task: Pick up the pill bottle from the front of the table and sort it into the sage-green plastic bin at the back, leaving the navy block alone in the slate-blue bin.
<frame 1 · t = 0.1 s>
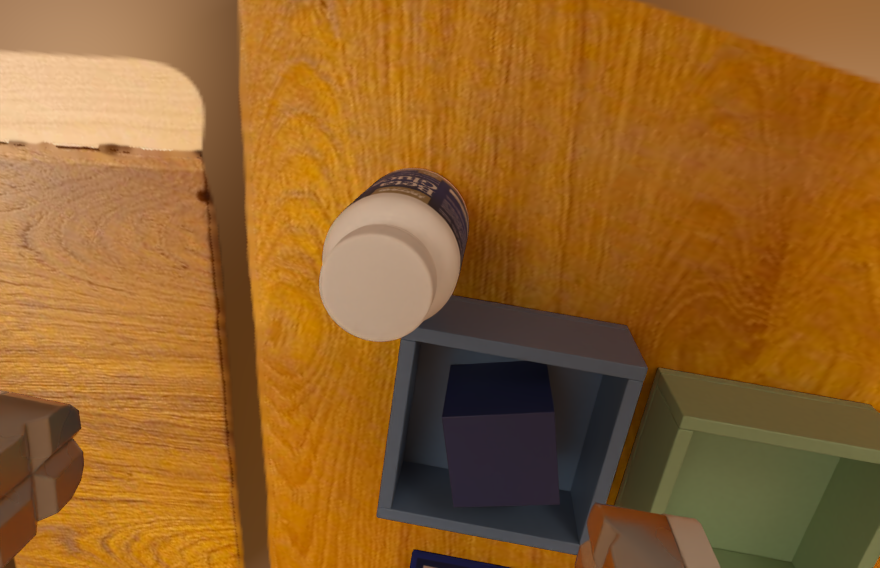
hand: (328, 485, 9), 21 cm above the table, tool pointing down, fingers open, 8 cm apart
navy block: (501, 403, 32), point 1 cm above the table, touching blue bin
blue bin: (501, 397, 32), on the table
green bin: (729, 471, 32), on the table
pill bottle: (415, 219, 29), on the table
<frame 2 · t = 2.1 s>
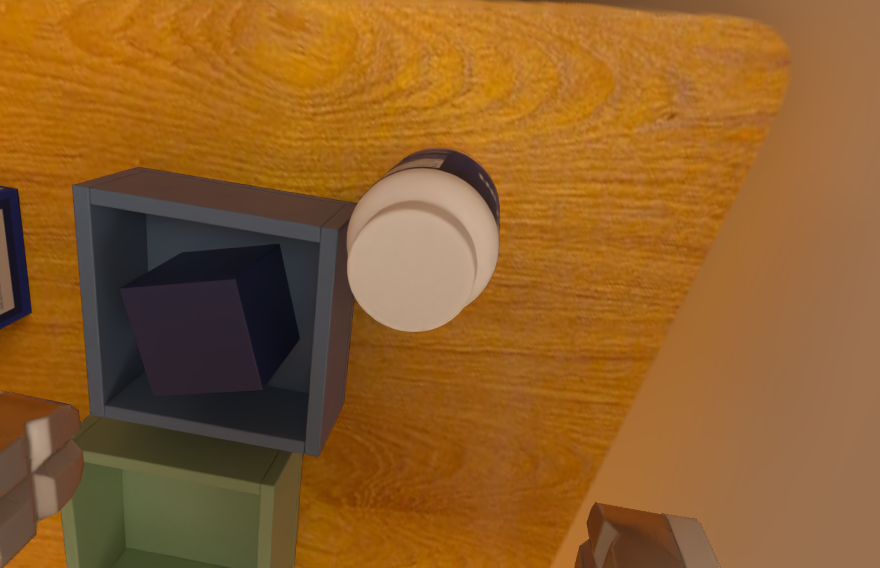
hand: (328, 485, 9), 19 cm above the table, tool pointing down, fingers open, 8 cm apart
navy block: (241, 296, 29), point 1 cm above the table, touching blue bin
blue bin: (246, 292, 30), on the table
green bin: (207, 492, 34), on the table
pill bottle: (441, 204, 27), on the table
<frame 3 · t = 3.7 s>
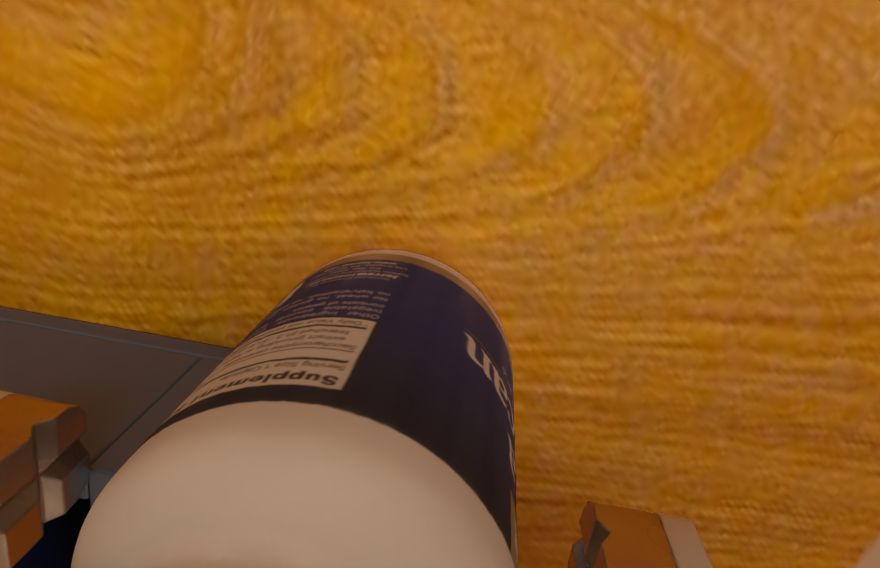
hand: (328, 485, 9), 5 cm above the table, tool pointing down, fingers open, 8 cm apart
navy block: (28, 506, 16), point 1 cm above the table, touching blue bin
blue bin: (45, 491, 16), on the table
pill bottle: (396, 351, 14), on the table
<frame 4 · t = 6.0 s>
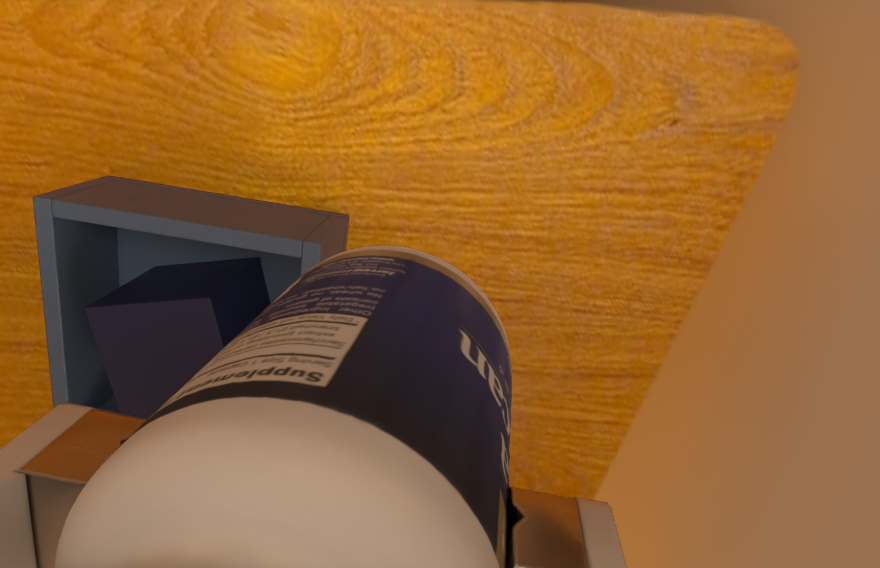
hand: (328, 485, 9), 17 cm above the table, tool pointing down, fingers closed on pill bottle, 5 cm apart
navy block: (220, 312, 27), point 1 cm above the table, touching blue bin
blue bin: (225, 307, 28), on the table
pill bottle: (396, 348, 14), point 13 cm above the table, touching gripper
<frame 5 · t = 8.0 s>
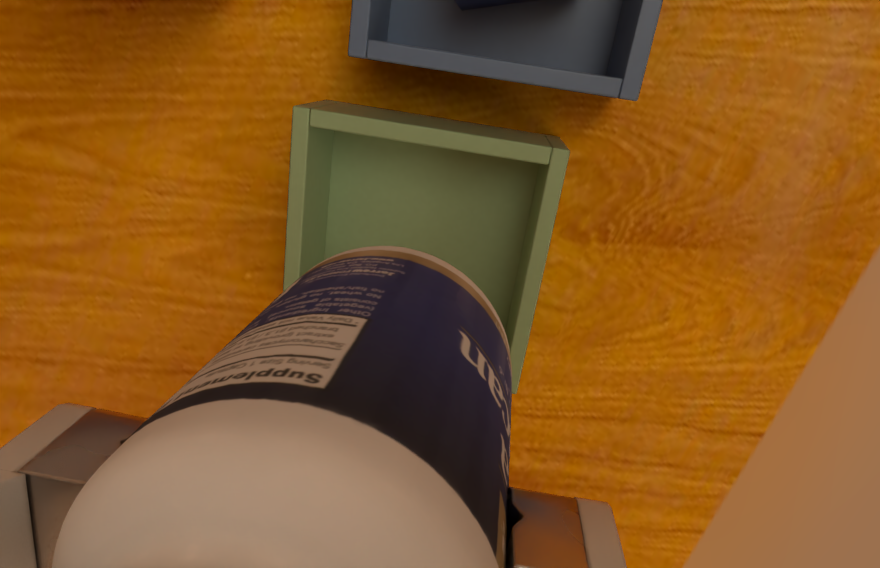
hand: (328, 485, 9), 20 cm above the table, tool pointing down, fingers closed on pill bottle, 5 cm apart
green bin: (425, 231, 29), on the table
pill bottle: (395, 349, 14), point 16 cm above the table, touching gripper
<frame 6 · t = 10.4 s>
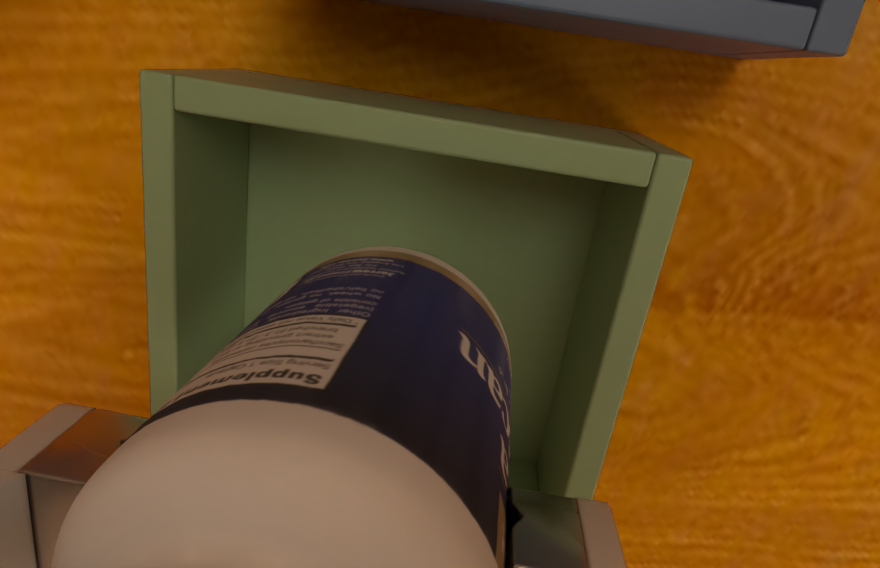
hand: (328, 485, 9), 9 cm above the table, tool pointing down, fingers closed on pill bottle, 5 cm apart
green bin: (409, 289, 18), on the table
pill bottle: (395, 349, 14), point 4 cm above the table, touching gripper
when the fingers open (5 cm above the table, at t = 11.9 s): pill bottle stays where it is, resting on green bin.
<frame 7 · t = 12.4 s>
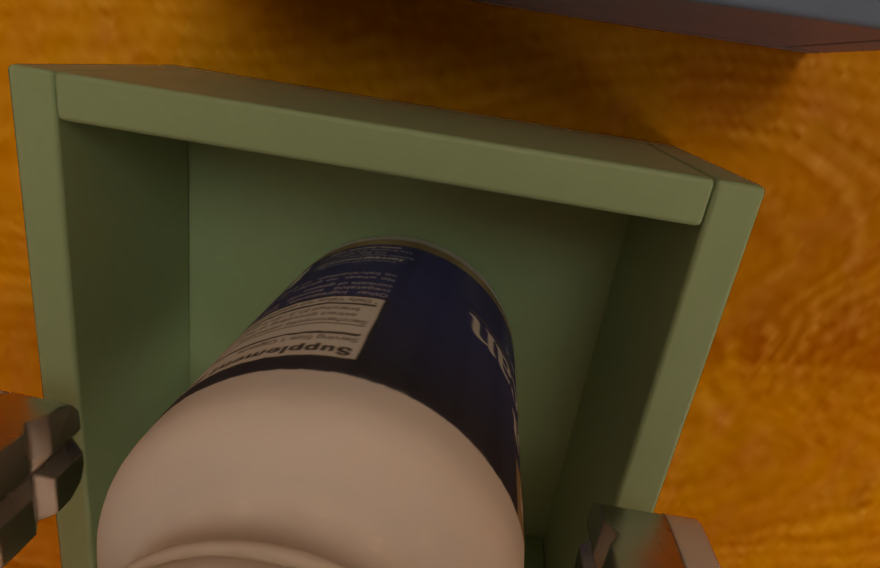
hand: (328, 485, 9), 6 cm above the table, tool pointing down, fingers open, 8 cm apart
green bin: (389, 333, 14), on the table
pill bottle: (400, 336, 14), resting on green bin
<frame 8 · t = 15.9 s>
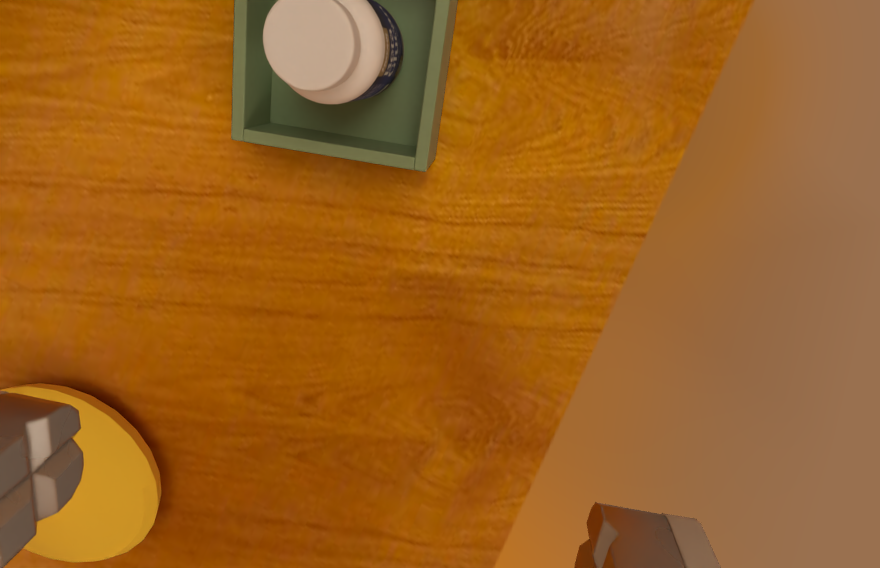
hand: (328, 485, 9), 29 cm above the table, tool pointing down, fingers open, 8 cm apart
green bin: (356, 51, 35), on the table
pill bottle: (360, 49, 34), resting on green bin
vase: (84, 453, 47), on the table
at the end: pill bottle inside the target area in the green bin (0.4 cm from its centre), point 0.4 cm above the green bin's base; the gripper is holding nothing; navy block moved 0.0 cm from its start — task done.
